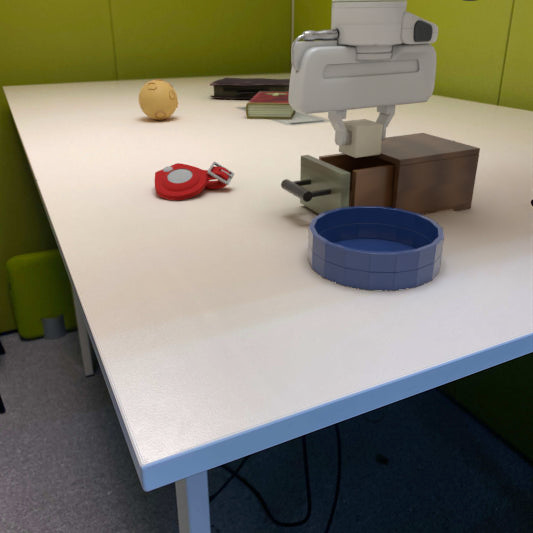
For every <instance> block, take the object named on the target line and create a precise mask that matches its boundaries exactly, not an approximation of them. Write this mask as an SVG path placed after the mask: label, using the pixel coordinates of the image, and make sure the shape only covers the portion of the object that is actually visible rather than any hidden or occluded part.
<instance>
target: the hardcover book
mask: <svg viewBox="0 0 533 533" xmlns="http://www.w3.org/2000/svg"><path fill="white" fill-rule="evenodd" d="M288 99H289V92H258V93H257V94H256V95H255V96H254V97H253V98H252V99H249V101H248V102H246V105H245V116H246V118H247V120H249V119H251V120H252V119H253V120H254V119H255V120H293V118H294V116H295V114H296V113H297V112H296V111H294V110H293V109H292V107H291V106H290V104H289V100H288Z"/></svg>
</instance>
